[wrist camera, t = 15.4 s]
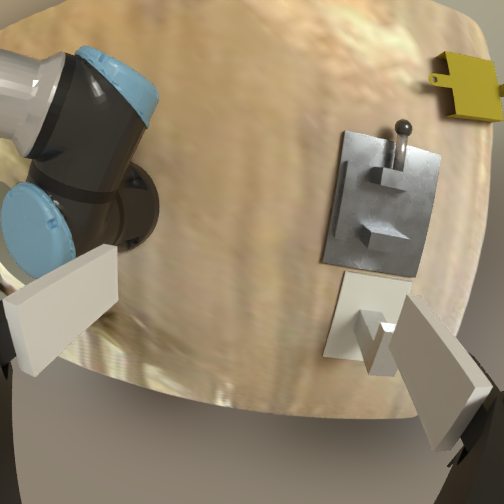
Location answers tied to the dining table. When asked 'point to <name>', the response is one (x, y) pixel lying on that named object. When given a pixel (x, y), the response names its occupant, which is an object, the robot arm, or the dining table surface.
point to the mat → (365, 298)
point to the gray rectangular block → (375, 342)
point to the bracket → (472, 87)
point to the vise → (381, 203)
